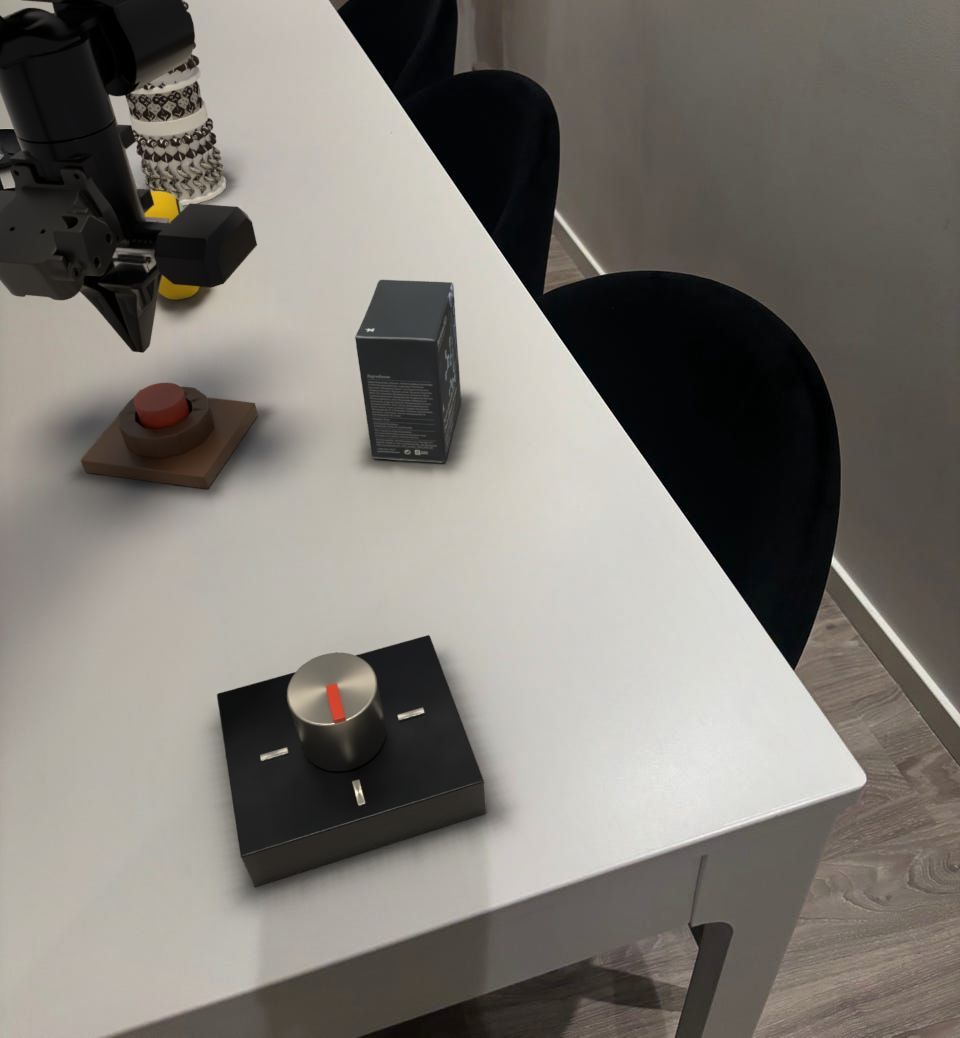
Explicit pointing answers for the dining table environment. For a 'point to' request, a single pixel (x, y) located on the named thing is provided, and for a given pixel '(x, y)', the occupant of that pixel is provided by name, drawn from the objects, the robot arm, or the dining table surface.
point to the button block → (173, 443)
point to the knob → (337, 711)
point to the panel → (353, 793)
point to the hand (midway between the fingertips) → (141, 349)
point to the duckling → (169, 209)
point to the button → (161, 405)
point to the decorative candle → (176, 135)
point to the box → (410, 369)
